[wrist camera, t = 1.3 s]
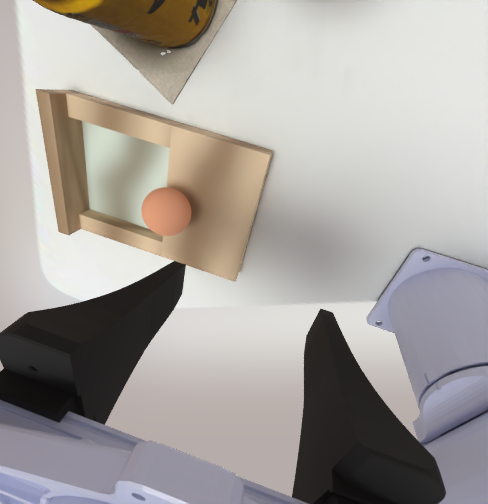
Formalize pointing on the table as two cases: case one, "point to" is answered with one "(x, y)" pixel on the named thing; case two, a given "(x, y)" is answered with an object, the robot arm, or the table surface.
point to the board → (150, 179)
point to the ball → (166, 211)
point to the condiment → (153, 33)
